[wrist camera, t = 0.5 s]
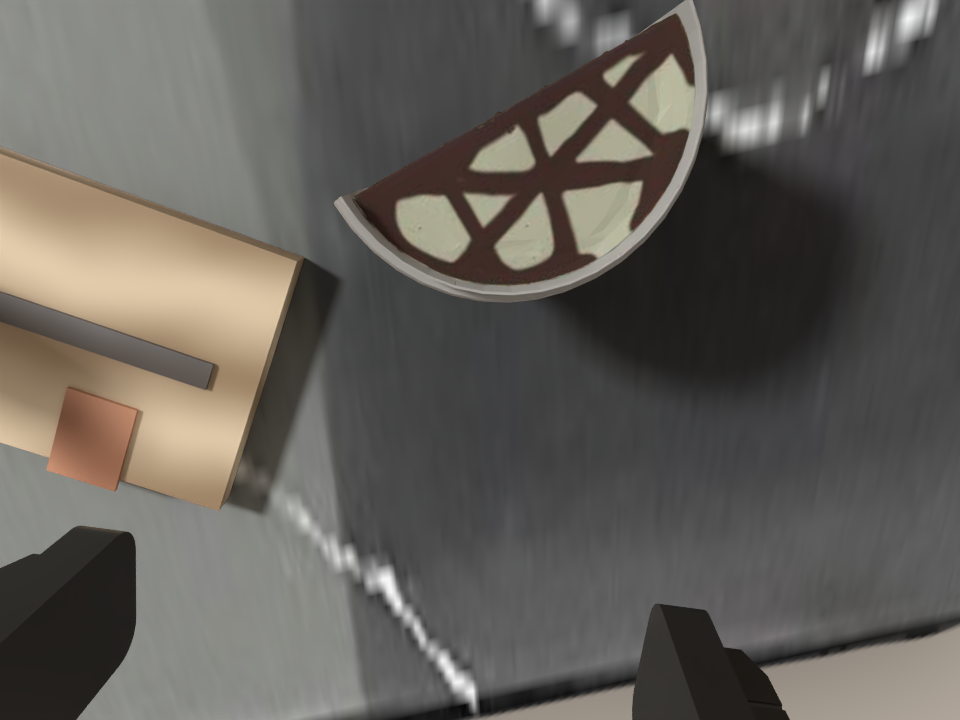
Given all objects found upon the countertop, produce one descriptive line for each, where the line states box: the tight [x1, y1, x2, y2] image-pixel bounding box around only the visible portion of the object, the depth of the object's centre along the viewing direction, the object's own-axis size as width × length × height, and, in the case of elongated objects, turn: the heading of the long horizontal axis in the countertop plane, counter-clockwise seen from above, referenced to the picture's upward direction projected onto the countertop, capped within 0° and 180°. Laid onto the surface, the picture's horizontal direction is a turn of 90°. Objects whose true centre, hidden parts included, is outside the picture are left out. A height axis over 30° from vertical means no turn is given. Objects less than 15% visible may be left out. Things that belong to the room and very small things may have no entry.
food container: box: [334, 0, 708, 303], centre depth 25 cm, size 12×6×10 cm, turn 119°
